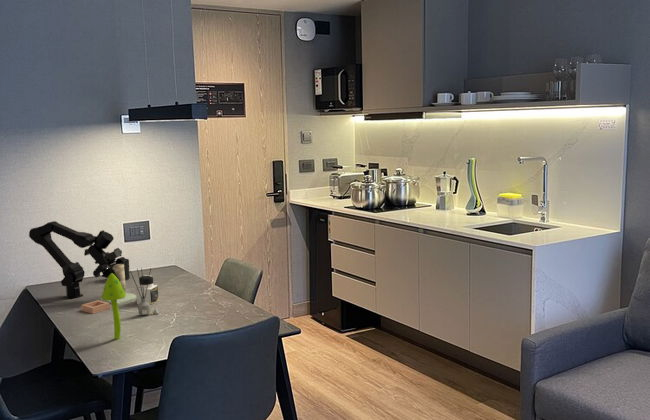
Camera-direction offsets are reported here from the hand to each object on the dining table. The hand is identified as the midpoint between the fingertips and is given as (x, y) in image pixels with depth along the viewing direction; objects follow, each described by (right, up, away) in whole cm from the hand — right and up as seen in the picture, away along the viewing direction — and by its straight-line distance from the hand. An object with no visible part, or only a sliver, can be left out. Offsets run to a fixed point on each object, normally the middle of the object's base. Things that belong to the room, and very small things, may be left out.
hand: (122, 280), depth 284 cm
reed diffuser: (+17, -12, -23) cm, 31 cm away
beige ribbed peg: (-1, -7, +1) cm, 7 cm away
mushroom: (+15, -16, -51) cm, 56 cm away
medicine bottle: (+13, -10, -5) cm, 17 cm away
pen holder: (-13, -4, +39) cm, 41 cm away
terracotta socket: (-7, -11, -14) cm, 19 cm away
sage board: (-1, -9, +2) cm, 9 cm away
